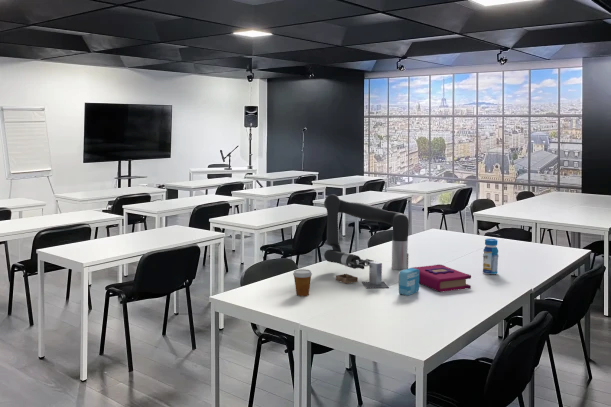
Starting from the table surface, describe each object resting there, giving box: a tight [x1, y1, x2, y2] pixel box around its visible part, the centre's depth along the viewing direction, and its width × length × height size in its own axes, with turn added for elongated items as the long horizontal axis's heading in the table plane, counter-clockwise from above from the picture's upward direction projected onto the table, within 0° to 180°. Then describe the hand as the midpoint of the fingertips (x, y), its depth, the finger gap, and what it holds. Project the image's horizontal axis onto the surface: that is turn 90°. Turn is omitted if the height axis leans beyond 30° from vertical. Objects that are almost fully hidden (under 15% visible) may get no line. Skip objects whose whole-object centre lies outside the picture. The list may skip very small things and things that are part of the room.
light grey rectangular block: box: [368, 260, 383, 286], centre depth 296 cm, size 6×4×12 cm, turn 33°
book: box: [412, 264, 472, 293], centre depth 300 cm, size 21×28×8 cm
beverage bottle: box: [482, 238, 499, 275], centre depth 320 cm, size 8×8×20 cm
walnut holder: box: [335, 273, 358, 285], centre depth 306 cm, size 10×7×2 cm
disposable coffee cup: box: [293, 268, 313, 297], centre depth 280 cm, size 10×10×12 cm
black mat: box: [362, 280, 390, 290], centre depth 297 cm, size 12×12×1 cm
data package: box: [398, 267, 420, 296], centre depth 282 cm, size 12×4×12 cm, turn 136°
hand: (369, 266), depth 300 cm, fingers open, 8 cm apart
